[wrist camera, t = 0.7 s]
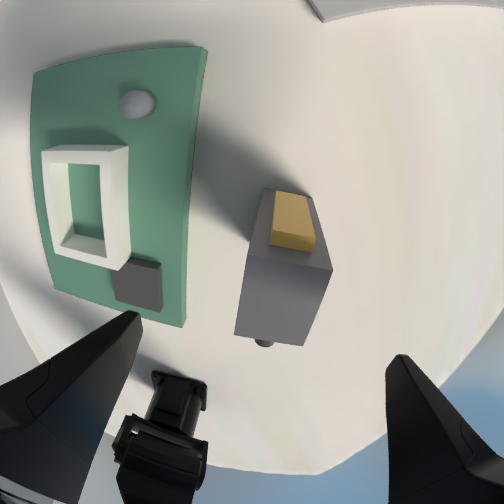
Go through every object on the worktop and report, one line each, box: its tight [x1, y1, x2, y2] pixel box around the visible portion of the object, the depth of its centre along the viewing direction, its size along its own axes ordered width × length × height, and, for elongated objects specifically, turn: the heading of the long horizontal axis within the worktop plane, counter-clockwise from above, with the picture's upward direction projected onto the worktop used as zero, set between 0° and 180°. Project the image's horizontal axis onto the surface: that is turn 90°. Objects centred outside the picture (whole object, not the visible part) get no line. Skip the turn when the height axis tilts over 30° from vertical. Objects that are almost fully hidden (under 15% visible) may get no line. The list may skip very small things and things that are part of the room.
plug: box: [234, 188, 333, 347], centre depth 14 cm, size 6×3×8 cm, turn 171°
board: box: [30, 47, 208, 328], centre depth 16 cm, size 20×14×3 cm
